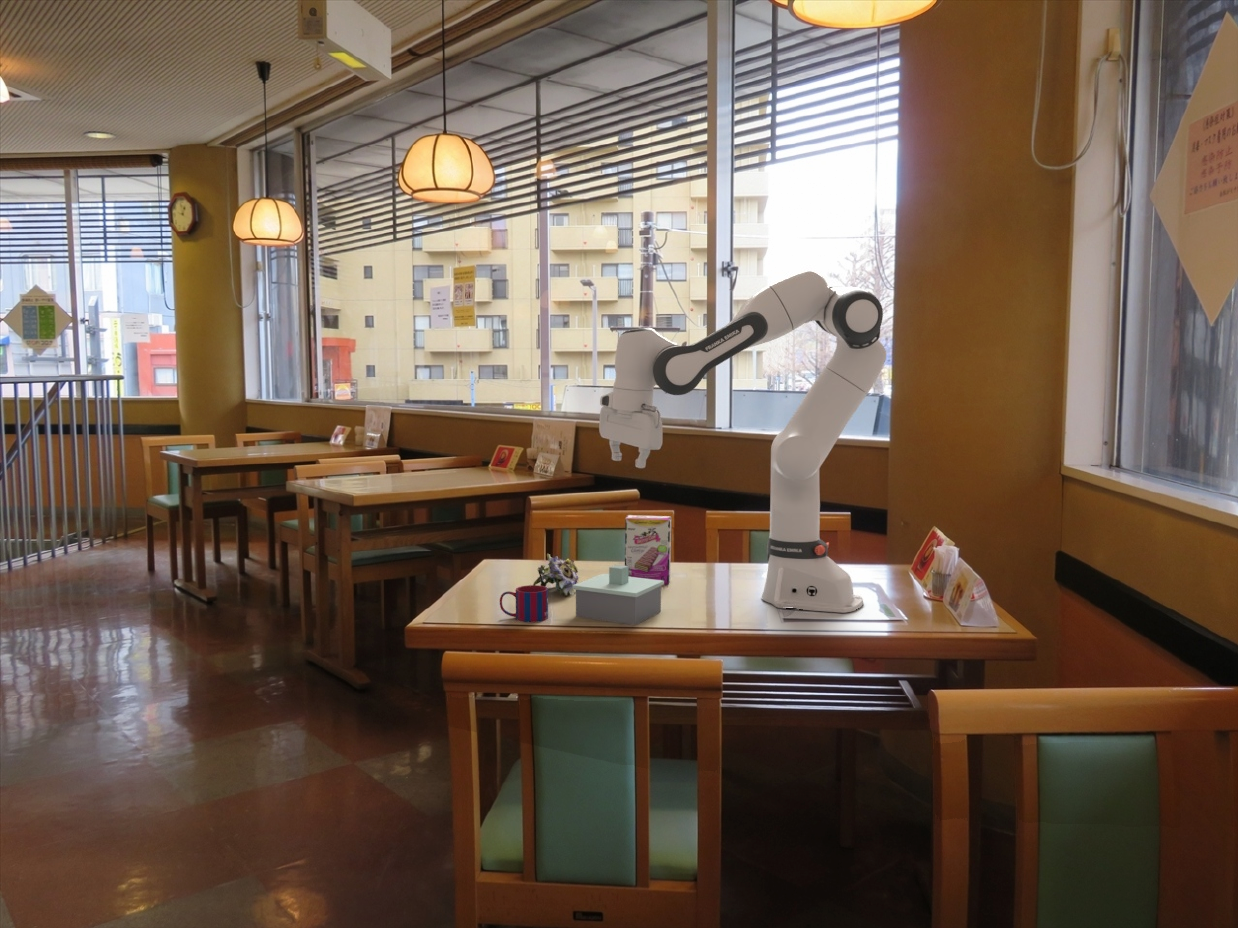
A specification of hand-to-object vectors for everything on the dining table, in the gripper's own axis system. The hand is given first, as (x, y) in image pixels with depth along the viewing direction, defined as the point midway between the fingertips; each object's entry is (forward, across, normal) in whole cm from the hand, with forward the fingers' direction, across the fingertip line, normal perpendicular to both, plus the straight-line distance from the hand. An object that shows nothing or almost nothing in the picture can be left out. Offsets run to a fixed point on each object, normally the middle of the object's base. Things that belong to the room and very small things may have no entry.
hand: (628, 463), depth 210 cm
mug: (+32, -4, +26) cm, 41 cm away
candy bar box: (+32, +11, -16) cm, 38 cm away
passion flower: (+33, +12, +9) cm, 36 cm away
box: (+31, -12, +8) cm, 34 cm away
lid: (+25, -11, +8) cm, 29 cm away
